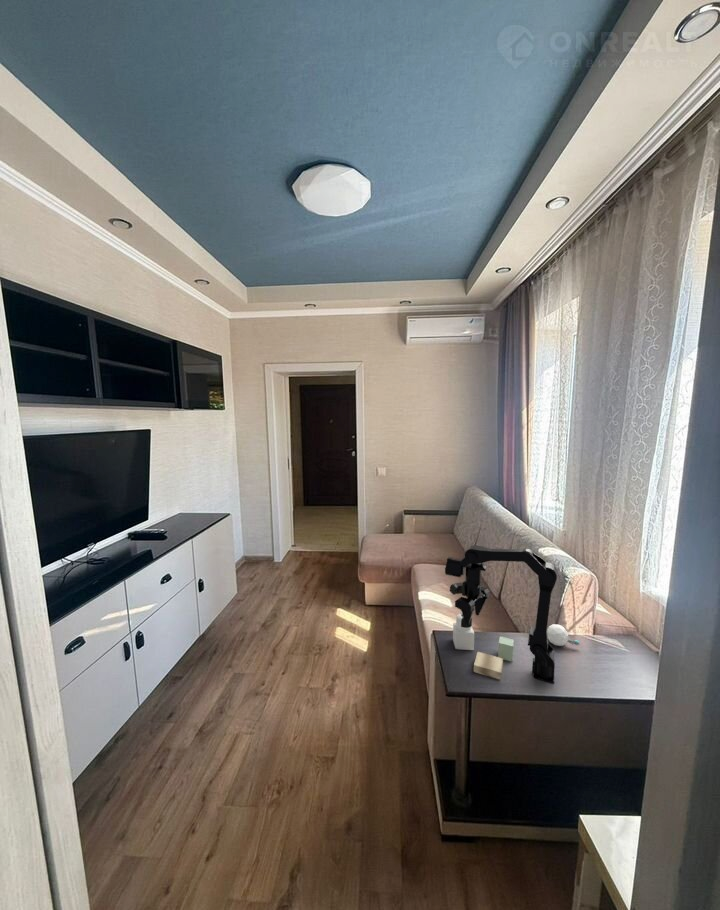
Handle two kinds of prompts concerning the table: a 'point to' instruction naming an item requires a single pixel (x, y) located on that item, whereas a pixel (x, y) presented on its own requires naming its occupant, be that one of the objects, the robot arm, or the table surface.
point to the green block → (506, 649)
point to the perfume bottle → (559, 635)
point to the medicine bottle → (463, 634)
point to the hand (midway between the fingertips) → (472, 619)
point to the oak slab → (488, 665)
